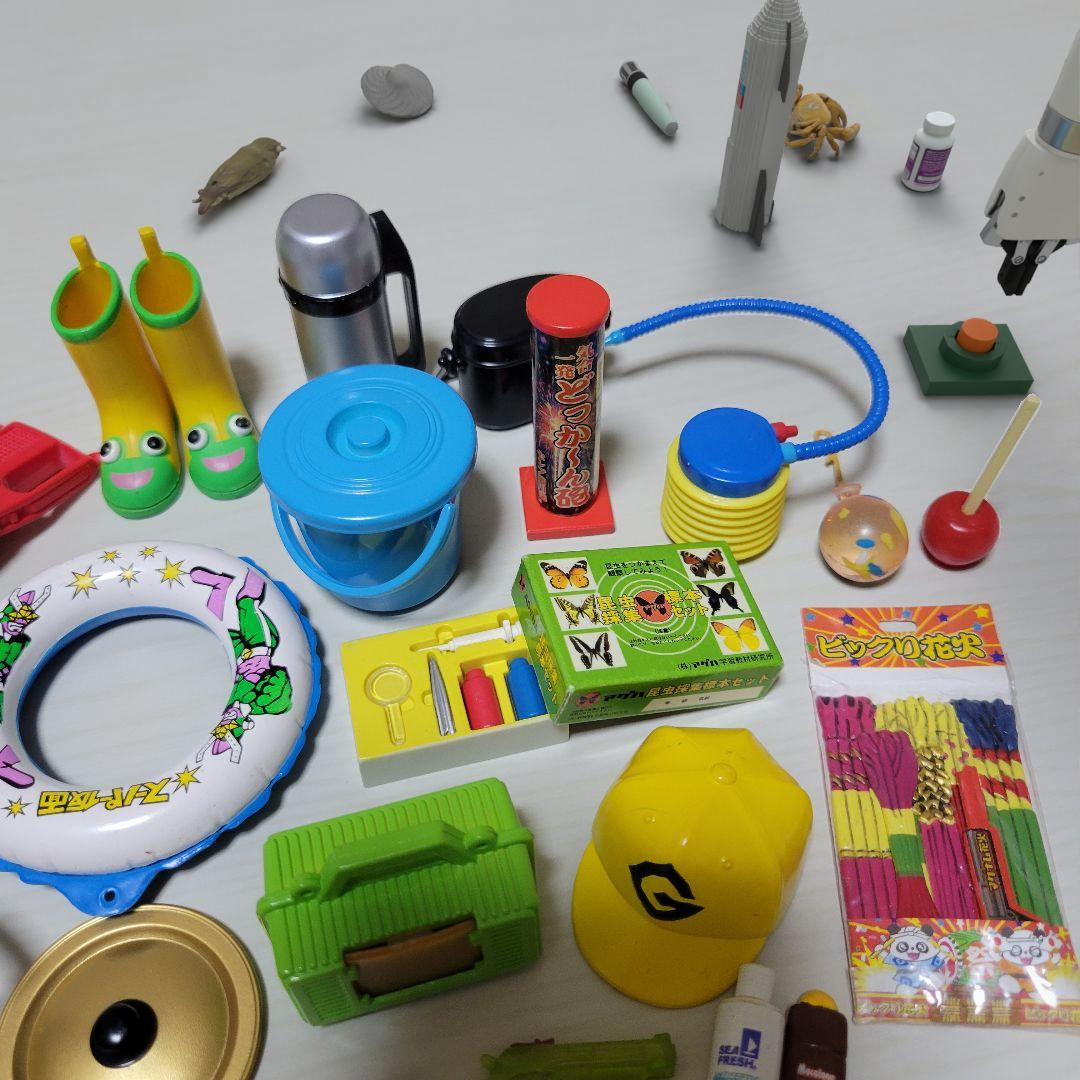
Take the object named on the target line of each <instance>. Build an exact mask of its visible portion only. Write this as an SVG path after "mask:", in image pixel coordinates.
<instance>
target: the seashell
mask: <svg viewBox="0 0 1080 1080" xmlns="http://www.w3.org/2000/svg"><path fill="white" fill-rule="evenodd" d="M360 88H361V91H362V94H363V95H364V97H365V99H366V101H368V102H369V104H370V105H371V106H372V107H373V108H374V109H376V110H377V111H379V112H381V113H382V114H384V115H387V116H390V117H394V118H397V119H413V118H416V117H420V116H422V115H424V114H425V113H426V112H428V110H429V109H430V108H431V106H432V103H433V101H434V88H433V85H432V83H431V80H430V79H429V77H428V76H427V74H426V73H424V72H423V71H422V70H420V69H419V68H418V67H415V66H412V65H411V64H408V63H398V64H395V65H394V66H390V65H387V66H386V65H374V66H371V67H370V68H368V69H367V70H366V71H365V72H364V73H363V74H362V76H361V78H360Z"/></svg>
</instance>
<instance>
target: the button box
mask: <svg viewBox="0 0 1080 1080" xmlns="http://www.w3.org/2000/svg"><path fill="white" fill-rule="evenodd" d="M965 321H966V320H958V321H956V322H954V323H953V324H909V325H908V326H907V328H906V330H905V334H904V336H903V342H904V346H905V348H906V350H907V352H908V356H909V358H910V360H911V363H912V366H913V369H914V372H915V374H916V376H917V380H918V382H919V385H920V387H921V391H922V392H923V395H924V396H928V397H929V396H930V397H931V396H932V397H933V396H985V395H986V396H988V395H989V396H990V395H1027V394H1028V392H1029V391H1030V389H1031V387H1032V385H1034V382H1035V379H1034V377H1033V375H1032V373H1031V371H1030V368H1029V367H1028V364H1027V362H1026V360H1025V358H1024V356H1023V354H1022V352H1021V350H1020V348H1019V346H1018V344H1017V341H1016V340H1015V338H1014V336H1013V334H1012V332H1011V329H1010V328H1009V326H1008V323H993V324H994V325H995V326H996V327H997V329H998V336H997V338H996V340H995V342H994V344H993V346H992V348H991V350H990V351H989V352H987V353H973V352H970V351H967V350H964V349H963V348H962V347H960V346H959V345H958V344H957V341H956V339H957V336H958V334H959V331H960V329H961V327H962V324H963V323H964V322H965Z"/></svg>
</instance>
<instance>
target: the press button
mask: <svg viewBox="0 0 1080 1080" xmlns="http://www.w3.org/2000/svg"><path fill="white" fill-rule="evenodd" d="M964 321H965V322H964V323H963V324H962V327H961V329H960V331H959V334H958V336H957V339H956V341H957V344H958V345H959V346H960V347H962V348H963V349H964V350H967V351H970V352H973V353H987V352H989V351H990V350H991V348H992V346H993V344H994V342H995V340H996V338H997V336H998V329H997V327H996V326H995V325H994V324H995V323H993V322H991V321H989V320H987V319H984V318H980V317H972V318H971V317H970V318H968V319H966V320H964Z"/></svg>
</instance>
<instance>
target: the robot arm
mask: <svg viewBox="0 0 1080 1080" xmlns="http://www.w3.org/2000/svg"><path fill="white" fill-rule="evenodd" d="M986 201H987V202H986V204H985V207H984V211H983V214H984V216H985V218H988V219H989V220H988V221H987V222H986V224H985V225H984V227H983V228H982V230H981V231H980V233H979V237H980V239H981V242H982V243H983V244H984V245H986V246H990V247H995V248H1002V250H1003V252H1005V256H1004V259H1003V261H1002V264H1001V265H1000V269H999V270H998V273H997V276H996V280H997V283H998V284H999V286H1000V287H1001V289H1002V291H1003V293H1004V295H1005V296H1006V297H1012V296H1013V295H1015V296H1016V297H1022V296H1023V294H1024V293H1025V290H1026V288H1027V286H1028V285H1029V284H1030V283H1031V282H1032V280H1033V277H1034V275H1035V274H1036V271H1037V269H1038V266H1039V265H1042V264H1044V263H1046V262H1047V260H1048V259H1049V258H1050V256H1051V255H1052V254H1053V253H1056V252H1057V251H1059V250H1060V249H1062V248H1063V247H1065V246H1070V245H1076V244H1080V25H1079V27H1078V29H1077V31H1076V34H1075V36H1074V38H1073V41H1072V44H1071V45H1070V48H1069V50H1068V53H1067V56H1066V58H1065V60H1064V61H1063V65H1062V67H1061V70H1060V72H1059V75H1058V77H1057V79H1056V82H1055V84H1054V87H1053V89H1052V92H1051V94H1050V96H1049V99H1048V101H1047V103H1046V106H1045V108H1044V111H1043V114H1042V115H1041V118H1040V120H1039V123H1038V125H1037V127H1033V128H1029V129H1027V130H1026V132H1024V135H1022V137H1021V138H1020V140H1019V142H1017V144H1016V146H1015V147H1014V149H1013V151H1011V154H1010V156H1009V157H1008V159H1007V161H1006V163H1005V165H1004V166H1003V168H1002V170H1001V172H1000V174H999V176H998V178H997V180H996V181H995V184H994V186H993V188H992V190H991V192H990V195H989V197H988V199H987V200H986Z"/></svg>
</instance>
